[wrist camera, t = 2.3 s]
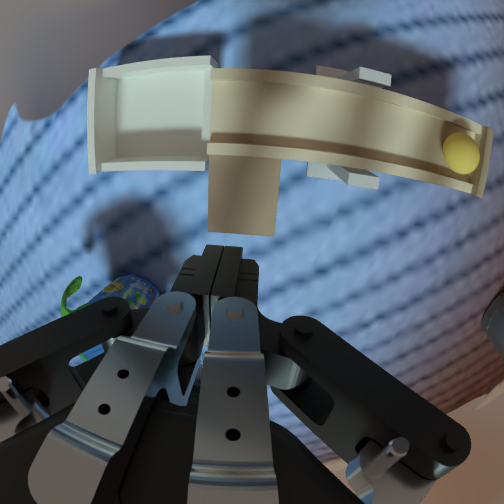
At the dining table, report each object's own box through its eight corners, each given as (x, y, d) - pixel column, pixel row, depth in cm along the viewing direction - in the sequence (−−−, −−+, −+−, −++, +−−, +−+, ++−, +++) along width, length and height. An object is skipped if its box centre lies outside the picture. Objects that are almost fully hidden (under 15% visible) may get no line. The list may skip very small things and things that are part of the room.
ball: (466, 136, 16) (489, 142, 13) (460, 172, 18) (483, 182, 15) (437, 125, 16) (461, 129, 13) (432, 164, 18) (454, 173, 15)
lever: (474, 125, 16) (493, 129, 14) (447, 248, 22) (462, 262, 19) (216, 72, 17) (208, 66, 14) (210, 226, 22) (203, 240, 20)
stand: (375, 78, 21) (413, 67, 14) (363, 182, 26) (395, 207, 19) (315, 66, 21) (335, 46, 14) (306, 175, 26) (320, 197, 19)
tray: (218, 64, 22) (208, 52, 17) (213, 163, 26) (202, 173, 22) (115, 74, 22) (89, 69, 17) (114, 163, 26) (89, 174, 22)
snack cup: (81, 285, 34) (42, 331, 25) (105, 232, 30) (56, 276, 21) (168, 347, 38) (148, 403, 29) (208, 307, 34) (191, 370, 25)
